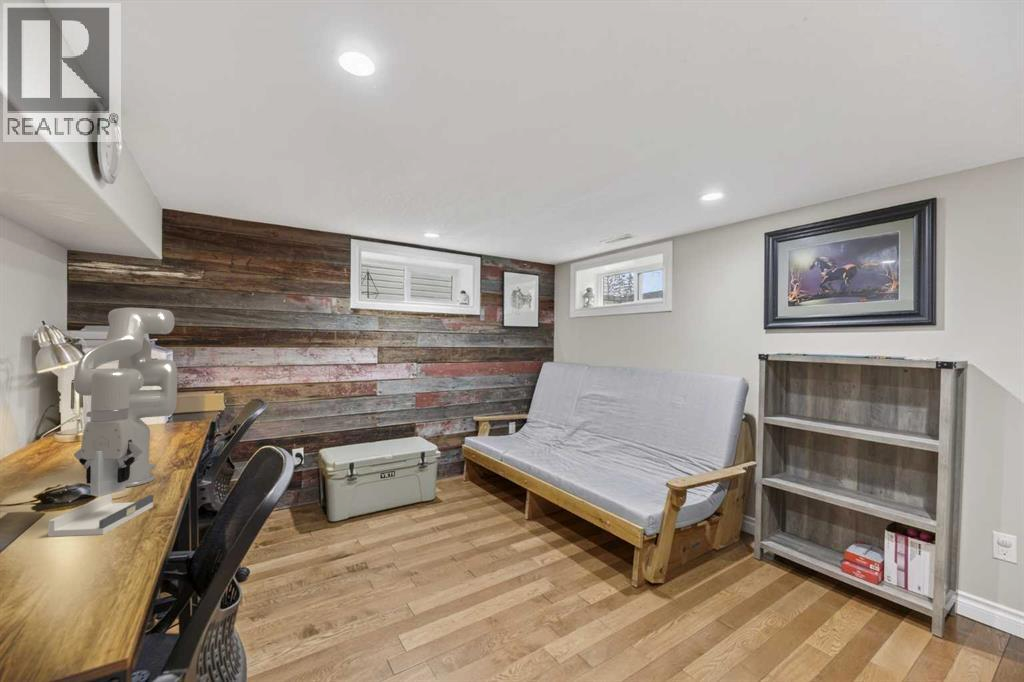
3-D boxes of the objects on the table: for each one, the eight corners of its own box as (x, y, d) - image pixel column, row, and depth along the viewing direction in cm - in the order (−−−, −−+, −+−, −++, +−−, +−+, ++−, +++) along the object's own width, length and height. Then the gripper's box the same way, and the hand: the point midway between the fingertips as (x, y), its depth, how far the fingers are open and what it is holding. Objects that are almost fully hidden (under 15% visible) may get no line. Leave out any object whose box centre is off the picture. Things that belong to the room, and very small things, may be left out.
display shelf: (106, 508, 122) (107, 494, 122) (152, 506, 123) (153, 493, 123) (48, 536, 104) (48, 520, 104) (103, 534, 106) (103, 518, 106)
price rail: (149, 501, 123) (149, 495, 123) (153, 501, 123) (154, 494, 123) (99, 528, 106) (99, 520, 106) (104, 528, 106) (104, 520, 106)
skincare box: (117, 488, 117) (119, 445, 117) (125, 490, 115) (126, 447, 116) (88, 494, 112) (90, 449, 112) (96, 497, 110) (98, 451, 110)
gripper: (60, 418, 109) (58, 487, 109) (135, 417, 112) (133, 485, 111) (85, 414, 116) (83, 478, 116) (155, 413, 119) (153, 476, 119)
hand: (108, 481), depth 114 cm, fingers closed on skincare box, 6 cm apart
